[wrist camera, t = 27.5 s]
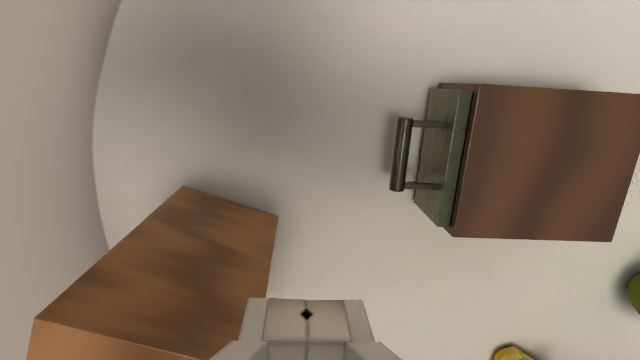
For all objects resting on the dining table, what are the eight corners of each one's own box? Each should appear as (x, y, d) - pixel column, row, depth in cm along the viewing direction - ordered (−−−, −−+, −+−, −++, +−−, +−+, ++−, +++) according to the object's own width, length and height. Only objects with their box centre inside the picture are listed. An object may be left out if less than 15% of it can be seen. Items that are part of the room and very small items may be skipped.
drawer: (377, 201, 39) (392, 225, 32) (389, 86, 35) (410, 87, 29) (536, 207, 40) (583, 231, 33) (563, 96, 37) (621, 100, 30)
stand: (158, 270, 40) (3, 478, 19) (182, 185, 38) (33, 318, 17) (249, 296, 42) (198, 513, 21) (278, 216, 39) (253, 373, 18)
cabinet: (421, 205, 40) (452, 237, 32) (438, 83, 36) (479, 83, 28) (549, 210, 41) (611, 242, 33) (579, 92, 37) (658, 95, 29)
